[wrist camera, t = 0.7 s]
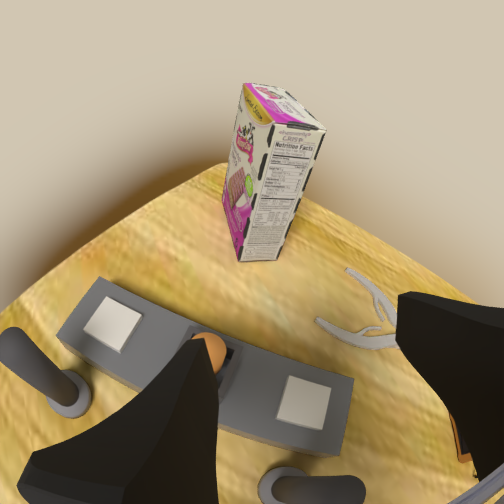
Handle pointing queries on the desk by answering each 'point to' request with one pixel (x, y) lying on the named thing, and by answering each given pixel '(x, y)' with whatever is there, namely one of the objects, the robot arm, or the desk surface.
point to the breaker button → (214, 349)
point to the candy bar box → (267, 169)
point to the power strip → (229, 377)
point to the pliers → (364, 341)
